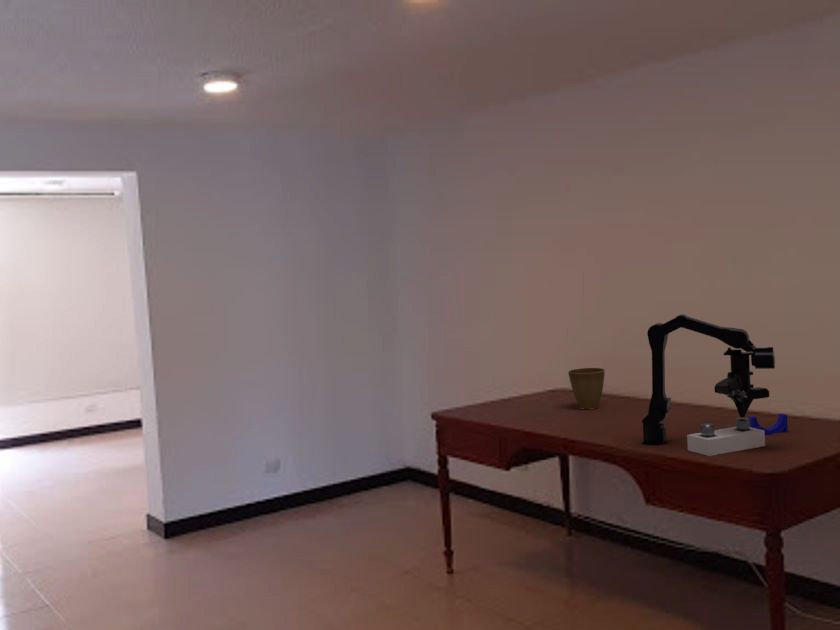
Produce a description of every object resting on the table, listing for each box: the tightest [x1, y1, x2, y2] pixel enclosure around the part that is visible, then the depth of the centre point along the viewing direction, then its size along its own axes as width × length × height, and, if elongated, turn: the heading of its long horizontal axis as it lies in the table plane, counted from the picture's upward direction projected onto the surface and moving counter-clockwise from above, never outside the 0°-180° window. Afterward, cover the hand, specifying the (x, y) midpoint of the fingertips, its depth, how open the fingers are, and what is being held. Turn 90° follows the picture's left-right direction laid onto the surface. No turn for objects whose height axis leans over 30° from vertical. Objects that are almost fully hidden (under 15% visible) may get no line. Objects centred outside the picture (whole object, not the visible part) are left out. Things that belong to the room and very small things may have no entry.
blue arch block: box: [747, 413, 789, 436], centre depth 290 cm, size 12×4×6 cm, turn 93°
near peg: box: [700, 423, 715, 438], centre depth 270 cm, size 4×4×5 cm
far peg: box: [735, 417, 750, 432], centre depth 275 cm, size 4×4×5 cm
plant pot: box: [567, 367, 606, 409], centre depth 357 cm, size 15×15×16 cm
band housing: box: [686, 426, 766, 457], centre depth 273 cm, size 10×22×5 cm, turn 112°
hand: (742, 417), depth 275 cm, fingers closed
